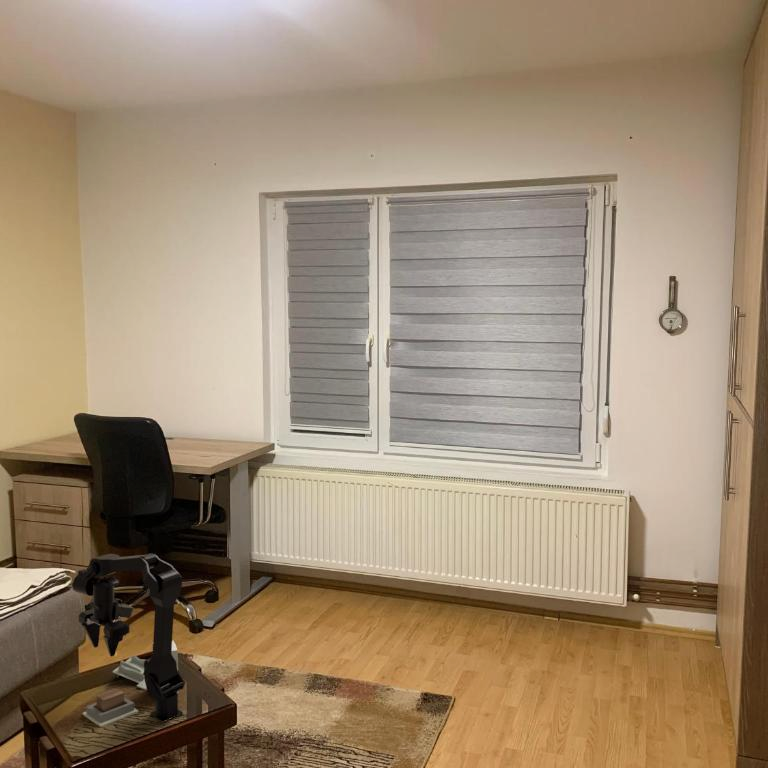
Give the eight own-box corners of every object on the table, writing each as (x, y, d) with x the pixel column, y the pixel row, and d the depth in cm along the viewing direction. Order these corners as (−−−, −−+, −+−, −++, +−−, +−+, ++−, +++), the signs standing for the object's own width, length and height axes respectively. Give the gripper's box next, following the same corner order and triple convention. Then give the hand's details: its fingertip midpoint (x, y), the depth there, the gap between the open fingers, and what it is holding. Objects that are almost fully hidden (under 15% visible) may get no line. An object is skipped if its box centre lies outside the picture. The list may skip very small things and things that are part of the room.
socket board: (138, 712, 215) (138, 703, 215) (100, 726, 207) (100, 717, 207) (119, 700, 222) (119, 692, 221) (82, 714, 213) (82, 705, 213)
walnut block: (124, 710, 215) (124, 692, 215) (104, 718, 211) (103, 700, 210) (117, 705, 218) (116, 688, 217) (96, 713, 213) (96, 695, 213)
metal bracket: (107, 667, 231) (134, 648, 246) (102, 685, 232) (129, 665, 246) (150, 685, 228) (174, 664, 243) (145, 703, 229) (169, 681, 244)
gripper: (146, 599, 225) (146, 652, 226) (112, 584, 237) (113, 635, 238) (110, 609, 216) (110, 664, 217) (77, 593, 229) (78, 645, 230)
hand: (104, 651), depth 226 cm, fingers open, 9 cm apart
